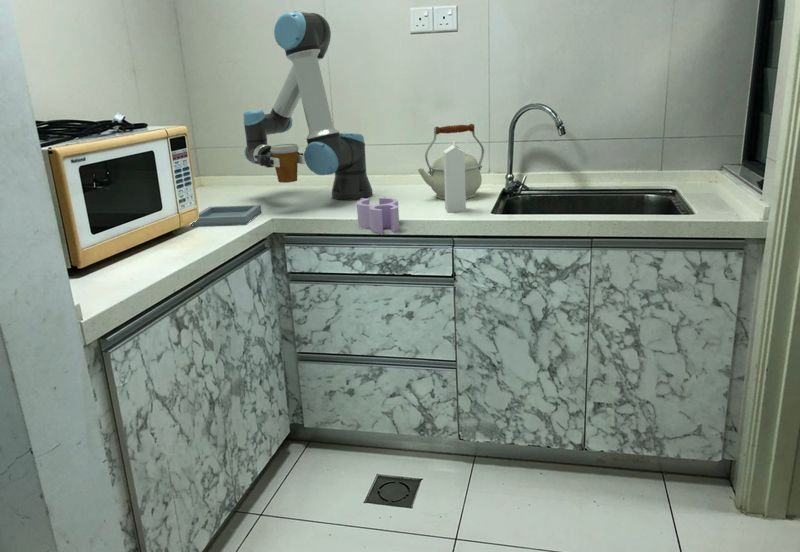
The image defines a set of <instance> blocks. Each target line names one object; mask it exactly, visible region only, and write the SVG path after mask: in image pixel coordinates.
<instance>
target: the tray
mask: <svg viewBox="0 0 800 552" xmlns="http://www.w3.org/2000/svg"><path fill="white" fill-rule="evenodd" d="M198 213H199V219H198V220H197V221H196V222H193V223H192V224H190V226H191V225H193V226H192V227H209V226H210V227H211V226H212V225H219V226H231V225H230V224H246V225H248V224H249V223H250V222H251V221H253V220H254V219H255V218H256V217H258V216H259V215H260V214H261V213H262V205H261V204H252V205H249V204H247V205H246V204H243V205H225V206H224V205H223V206H222V205H221V206H208V207H206V208H205V209H203V210H201V211H199V212H198ZM259 213H260V214H259ZM258 214H259V215H258ZM257 215H258V216H257ZM255 216H256V217H255ZM254 217H255V218H254ZM253 218H254V219H253ZM252 219H253V220H252ZM250 220H251V221H250ZM249 221H250V222H249ZM248 222H249V223H248ZM247 223H248V224H247Z"/></svg>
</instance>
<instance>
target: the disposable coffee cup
mask: <svg viewBox="0 0 800 552" xmlns="http://www.w3.org/2000/svg"><path fill="white" fill-rule="evenodd" d="M270 146H271V150H270V151H271V153H272V156H273V158H278V159H279V163H280V167H274V169H275V172H276V176H277V180H278V183H280V184H281V183H283V184H285V183H293V182H294V183H295V182H297V181H298V164H299V163H298V152H299V149H300V148H299V146H298V144H297V143H281V144H274V145H270Z"/></svg>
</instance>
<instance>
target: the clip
mask: <svg viewBox="0 0 800 552" xmlns="http://www.w3.org/2000/svg"><path fill="white" fill-rule="evenodd" d="M378 203H379V204H370V199H369V198H361V199H359V200H358V201H357V202H356V214H357V224H358V226H359V227H360V228H363V229H364V228H365V229H370V231H371V232H372V233H374V234H383V233H384V229H385V228H391V229H390V231H391V232H392V233H395V232H398V231H399V230H400V215H399V214H400V211H399V200H398V199H397V198H395V197H387V196H380V197H379V198H378Z"/></svg>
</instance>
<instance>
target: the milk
mask: <svg viewBox="0 0 800 552" xmlns="http://www.w3.org/2000/svg"><path fill="white" fill-rule="evenodd" d="M451 142H452V145H451V146H449V147H447V148H446V149H444V150H443V155H444V183H445V200H444V209H445V210H446V213H462V212H463V213H465V212H466V211H467V206H466V205H467V203H466V200H467V199H466V195H465V154H466V153H465V151H464V150H463V149H461V148H460V147H459V148H460V149H459V148H457V147H458V146H457V145H456V142H455V140H452V141H451ZM456 146H457V147H456Z"/></svg>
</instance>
